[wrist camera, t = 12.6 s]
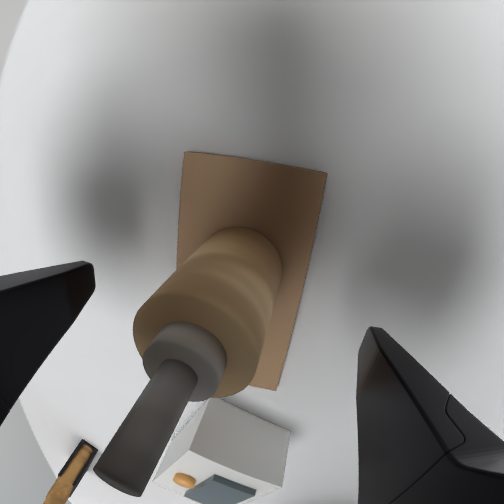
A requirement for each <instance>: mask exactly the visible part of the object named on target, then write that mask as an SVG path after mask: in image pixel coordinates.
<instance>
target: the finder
mask: <svg viewBox="0 0 504 504" xmlns="http://www.w3.org/2000/svg"><path fill="white" fill-rule="evenodd" d="M289 437H290V431H288V430H286V429H283V428H281V427H279V426H276V425H274V424H272V423H270V422H267V421H265V420H263V419H261V418H259V417H256V416H254V415H252V414H250V413H248V412H246V411H244V410H242V409H240V408H238V407H236V406H234V405H232V404H230V403H228V402H226V401H224V400H222V399H220V398H209V399H207V400H206V401H205V403H204V404H203V405H202V406H201V407H200V408H199V410H198V411H197V412H196V413H195V414H194V415H193V417H192V418H191V419H190V420H189V421H188V422H187V424H186V425H185V426H184V427H183V428H182V429H181V430H180V432H179V433H178V434H177V435H176V436H175V437H174V438H173V439H172V441H171V443H170V445H169V447H168V450H167V452H166V454H165V456H164V458H163V460H162V462H161V464H160V467H159V469H158V471H157V473H156V475H155V477H154V479H153V481H152V482H153V483H155V484H157V485H159V486H161V487H163V488H165V489H167V490H169V491H171V492H174V493H176V494H178V495H180V496H183V497H185V498H187V499H190V500H192V501H195V502H197V503H200V504H245V503H247V502H250V501H252V500H254V499H257V498H259V497H261V496H264V495H266V494H268V493H270V492H273V491H275V490H277V489H279V488H281V487H282V484H283V478H284V471H285V465H286V458H287V451H288V444H289Z"/></svg>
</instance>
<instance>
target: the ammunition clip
mask: <svg viewBox="0 0 504 504" xmlns="http://www.w3.org/2000/svg"><path fill="white" fill-rule="evenodd" d="M97 451H98V450H97V449H96V448H94V447H93V446H91V445H90V444H88V443H87V442H85V441H84V440H83V439H82V440H81V442H80V443H79V445H78V446H77V447H76V449H75V450H74V452H73V453H72V455H71V456H70V458H69V459H68V461H67V462H66V464H65V465H64V467H63V468H62V469H61V471H60V472H59V474H58V478H57V480H56V482H55V483H54V485H53V486H52V488H51V489H50V491H49V492H48V494H47V496H46V499H45V502H44V503H43V504H65V503H66V501H67V499H68V498H69V497H71V495H72V493H73V492H74V490H75V489H76V487H77V485H78V484H79V482H80V481H81V479H82V477H83V476H84V474H85V473H86V471H87V469H88V468H89V466H90V464H91V462H92V460H93V458H94V457H95V455H96V453H97Z"/></svg>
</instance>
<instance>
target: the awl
mask: <svg viewBox="0 0 504 504" xmlns="http://www.w3.org/2000/svg"><path fill="white" fill-rule="evenodd" d="M281 278H282V262H281V258H280V255H279V253H278V251H277V249H276V248H275V246H274V245H273V244H272V243H271V242H270V241H269V240H268V239H267V238H266V237H265V236H263V235H262V234H260V233H259V232H257V231H254V230H252V229H249V228H244V227H229V228H225V229H222V230H219V231H217V232H216V233H214V234H213V235H212V236H210V237H209V238H208V239H207V240H206V241H205V242H204V243H203V244H202V245H201V246H200V247H199V248H198V249H197V250H196V251H195V252H194V253H193V254H192V255H191V256H190V257H189V258H188V259H187V260H186V261H185V262H184V263H183V264H182V265H181V266H180V267H179V268H178V269H177V270H176V271H175V272H174V273H173V274H172V275H171V276H170V277H169V278H168V279H167V280H166V282H165V283H164V284H163V285H162V286H161V287H160V288H159V289H158V290H157V291H156V292H155V293H154V294H153V295H152V296H151V297H150V298H149V299H148V300H147V301H146V302H145V303H144V304H143V305H142V307H141V308H140V309H139V310H138V312H137V314H136V316H135V319H134V323H133V336H134V341H135V344H136V347H137V350H138V352H139V354H140V356H141V357H142V359H143V366H144V369H145V371H146V373H147V375H148V376H149V378H150V379H151V380H150V381H149V383H148V384H147V386H146V387H145V389H144V390H143V392H142V393H141V395H140V396H139V398H138V400H137V401H136V403H135V404H134V406H133V407H132V409H131V410H130V412H129V413H128V415H127V416H126V418H125V420H124V421H123V423H122V424H121V426H120V427H119V429H118V430H117V432H116V433H115V435H114V437H113V438H112V440H111V441H110V443H109V444H108V446H107V447H106V449H105V451H104V452H103V454H102V455H101V457H100V458H99V460H98V462H97V463H96V465H95V466H94V468H93V471H94V472H95V474H96V475H97V476H98V477H99V478H101V479H102V480H103V481H104V482H106V483H107V484H109V485H110V486H112V487H114V488H115V489H117V490H119V491H121V492H123V493H126V494H128V495H131V496H136V497H140V496H141V495H142V493H143V491H144V489H145V487H146V485H147V483H148V481H149V479H150V477H151V475H152V473H153V471H154V469H155V467H156V465H157V463H158V461H159V459H160V457H161V455H162V453H163V451H164V449H165V447H166V445H167V443H168V441H169V439H170V437H171V435H172V433H173V431H174V429H175V427H176V425H177V423H178V421H179V419H180V417H181V415H182V413H183V411H184V409H185V407H186V405H187V403H188V401H192V402H198V401H204V400H207V399H209V398H221V397H227V396H230V395H234V394H236V393H238V392H240V391H242V390H243V389H244V388H246V387H247V386H248V385H249V384H250V382H251V381H252V380H253V378H254V376H255V373H256V370H257V366H258V363H259V359H260V356H261V352H262V349H263V345H264V341H265V338H266V334H267V331H268V327H269V323H270V320H271V316H272V312H273V308H274V305H275V301H276V297H277V293H278V290H279V286H280V282H281Z"/></svg>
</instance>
